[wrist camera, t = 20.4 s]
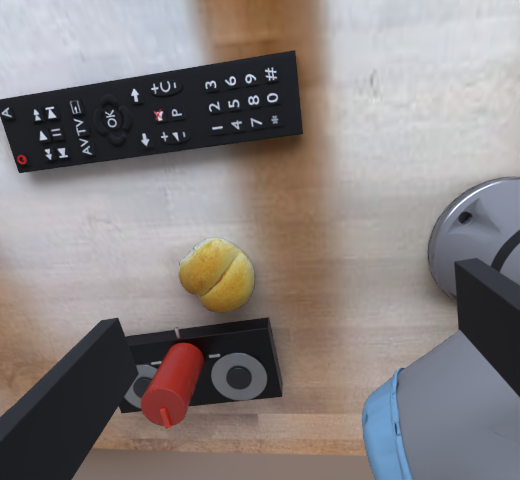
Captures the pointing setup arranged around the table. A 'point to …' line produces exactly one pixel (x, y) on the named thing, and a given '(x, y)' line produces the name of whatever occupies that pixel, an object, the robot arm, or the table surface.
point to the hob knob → (173, 385)
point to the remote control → (155, 113)
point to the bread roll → (218, 275)
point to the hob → (212, 355)
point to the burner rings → (214, 378)
